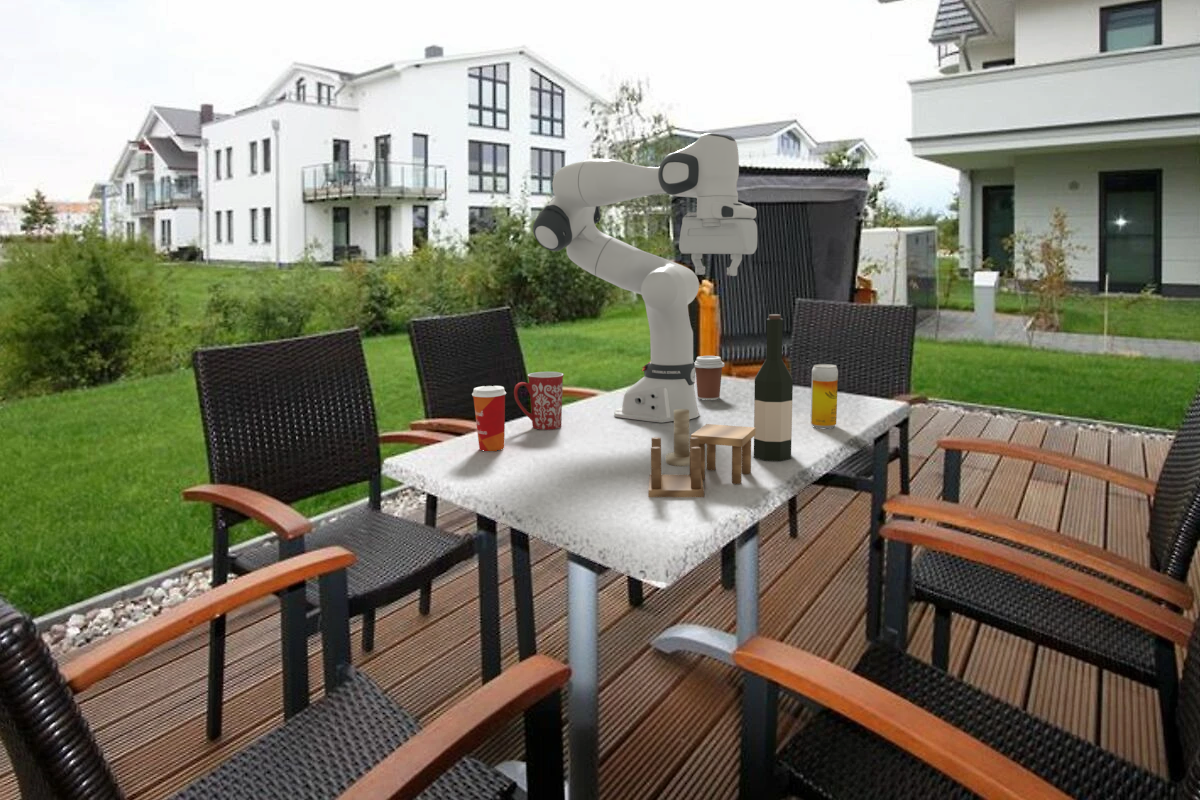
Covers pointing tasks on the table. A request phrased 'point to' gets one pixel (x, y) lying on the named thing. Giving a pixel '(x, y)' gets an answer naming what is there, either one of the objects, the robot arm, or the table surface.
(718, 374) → the coffee cup
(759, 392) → the wine bottle
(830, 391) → the beer can
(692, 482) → the upturned stool
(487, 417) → the paper cup
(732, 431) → the stool
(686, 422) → the ring stacker tower
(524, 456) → the table surface
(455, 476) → the table surface
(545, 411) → the mug
